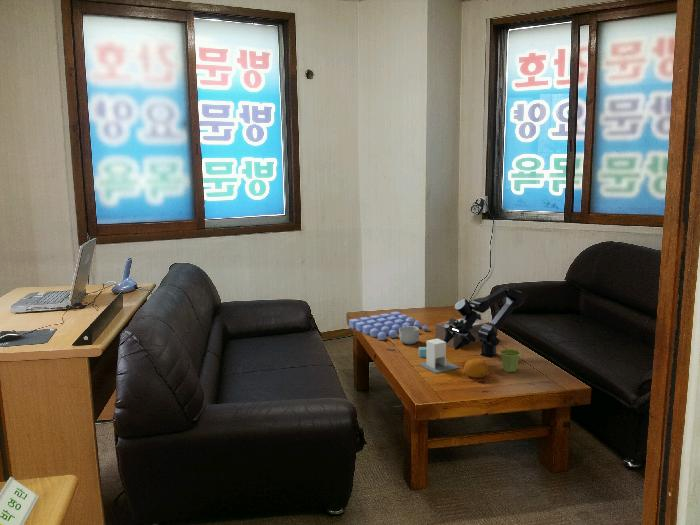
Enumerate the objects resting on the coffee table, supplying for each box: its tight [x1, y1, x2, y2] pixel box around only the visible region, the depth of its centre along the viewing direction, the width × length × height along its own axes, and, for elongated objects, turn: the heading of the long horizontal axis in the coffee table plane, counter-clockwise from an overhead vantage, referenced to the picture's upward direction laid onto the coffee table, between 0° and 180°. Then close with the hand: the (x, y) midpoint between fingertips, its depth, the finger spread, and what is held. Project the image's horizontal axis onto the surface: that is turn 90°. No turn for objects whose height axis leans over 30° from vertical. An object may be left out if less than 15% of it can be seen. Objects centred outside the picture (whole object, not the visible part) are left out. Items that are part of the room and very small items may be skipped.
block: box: [418, 346, 426, 358], centre depth 296 cm, size 4×4×4 cm
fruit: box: [463, 358, 489, 379], centre depth 267 cm, size 10×10×8 cm
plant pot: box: [499, 348, 522, 373], centre depth 274 cm, size 9×9×9 cm
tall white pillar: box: [425, 338, 447, 369], centre depth 279 cm, size 7×7×12 cm
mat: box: [418, 360, 461, 374], centre depth 280 cm, size 14×14×1 cm
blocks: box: [348, 311, 429, 341], centre depth 344 cm, size 35×34×5 cm
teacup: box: [398, 325, 420, 345], centre depth 318 cm, size 14×11×8 cm
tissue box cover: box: [434, 317, 490, 349], centre depth 320 cm, size 26×14×10 cm, turn 122°
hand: (449, 346), depth 283 cm, fingers open, 9 cm apart
